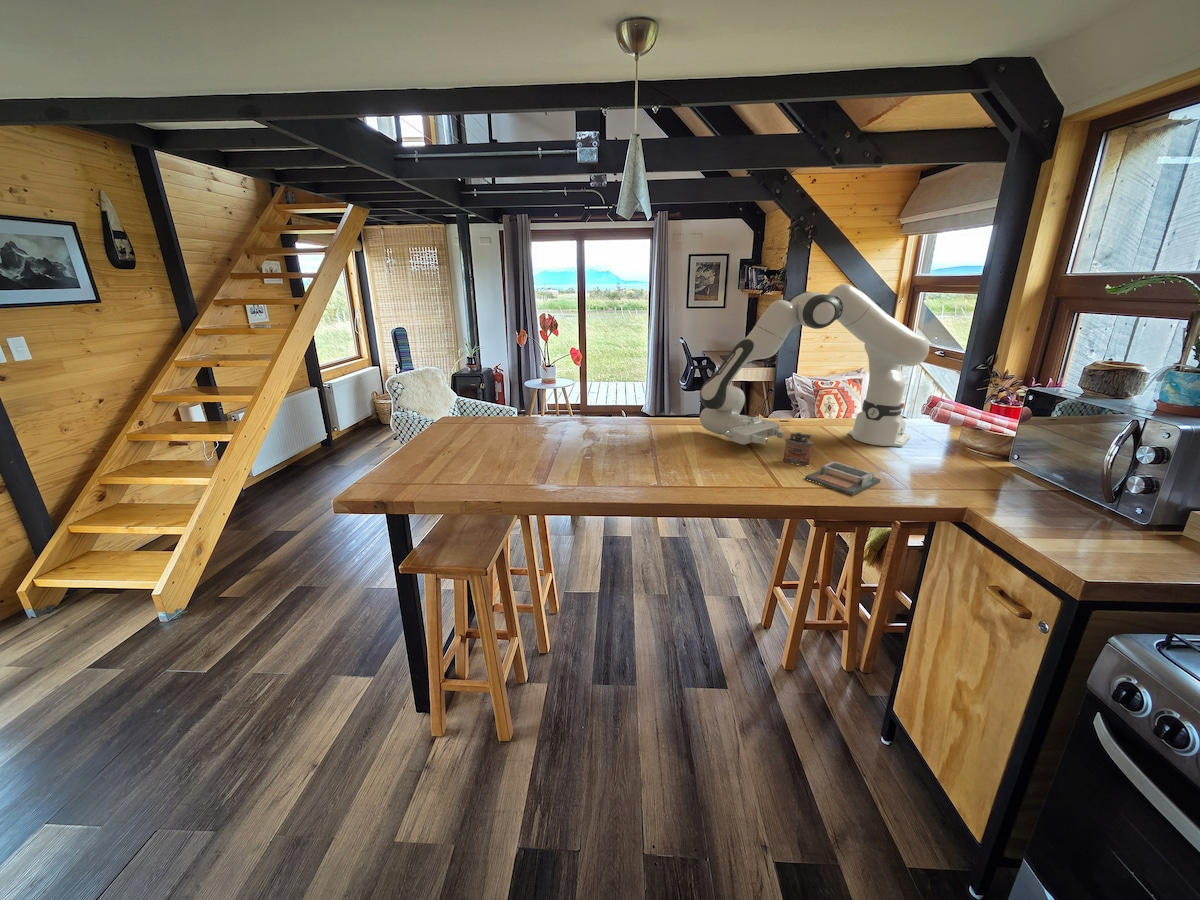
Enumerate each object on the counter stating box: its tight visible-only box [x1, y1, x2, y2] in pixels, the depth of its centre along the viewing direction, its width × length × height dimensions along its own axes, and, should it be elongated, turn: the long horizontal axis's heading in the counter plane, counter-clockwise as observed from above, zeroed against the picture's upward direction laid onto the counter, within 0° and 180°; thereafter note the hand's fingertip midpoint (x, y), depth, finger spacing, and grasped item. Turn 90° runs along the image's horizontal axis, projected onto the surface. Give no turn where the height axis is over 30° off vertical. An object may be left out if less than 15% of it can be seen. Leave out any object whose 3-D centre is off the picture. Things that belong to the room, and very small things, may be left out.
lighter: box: [782, 431, 814, 466], centre depth 151 cm, size 8×3×10 cm, turn 62°
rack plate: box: [804, 460, 881, 496], centre depth 139 cm, size 16×14×3 cm
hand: (774, 438), depth 157 cm, fingers open, 8 cm apart
